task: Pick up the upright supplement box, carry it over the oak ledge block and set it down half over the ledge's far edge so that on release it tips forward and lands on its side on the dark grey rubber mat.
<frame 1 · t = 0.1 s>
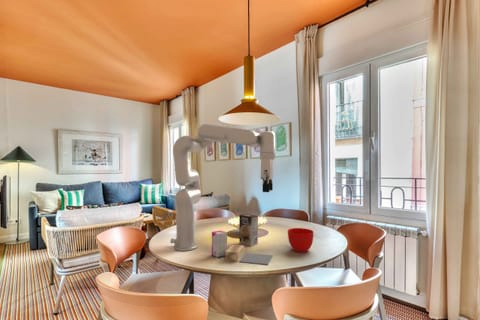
hand: (267, 191, 127), 31 cm above the table, fingers open, 9 cm apart
mat: (256, 258, 121), on the table
ledge: (235, 256, 124), on the table
coffee box: (248, 243, 146), on the table
ceramic cup: (299, 249, 135), on the table
supplement box: (219, 255, 126), on the table
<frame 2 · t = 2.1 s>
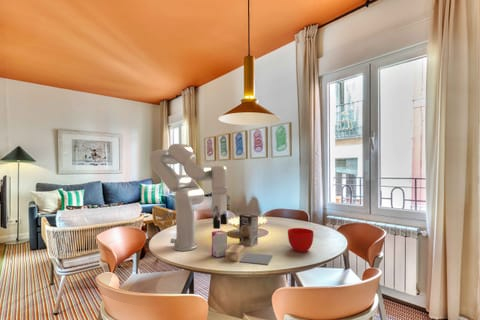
hand: (220, 226, 126), 14 cm above the table, fingers open, 9 cm apart
nothing on the table moved.
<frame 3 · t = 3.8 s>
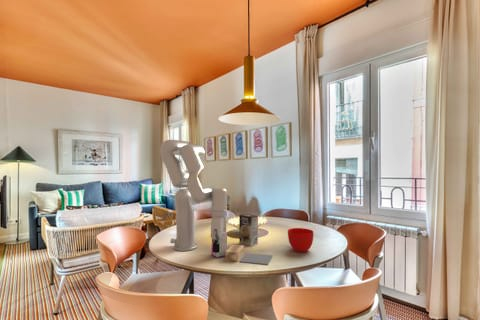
hand: (219, 249, 126), 3 cm above the table, fingers closed on supplement box, 8 cm apart
supplement box: (219, 255, 126), on the table, touching gripper
everything else where it was.
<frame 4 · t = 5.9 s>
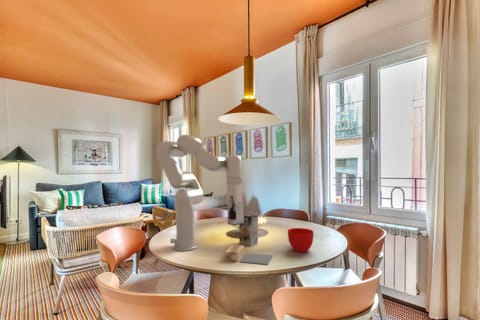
hand: (235, 217, 124), 19 cm above the table, fingers closed on supplement box, 8 cm apart
supplement box: (235, 224, 124), point 16 cm above the table, touching gripper
everything else where it was.
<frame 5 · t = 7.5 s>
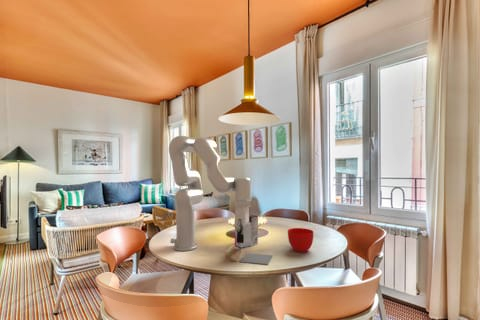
hand: (242, 240, 123), 8 cm above the table, fingers closed on supplement box, 8 cm apart
supplement box: (242, 246, 123), point 5 cm above the table, touching gripper
everything else where it was.
when the fingers open (8 cm above the table, at t = 8.2 s): supplement box drops 2 cm, resting on mat.
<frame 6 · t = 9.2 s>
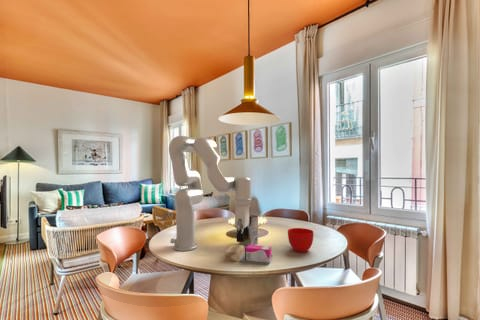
hand: (242, 239, 123), 9 cm above the table, fingers open, 9 cm apart
supplement box: (246, 252, 120), point 3 cm above the table, touching mat
everything else where it was.
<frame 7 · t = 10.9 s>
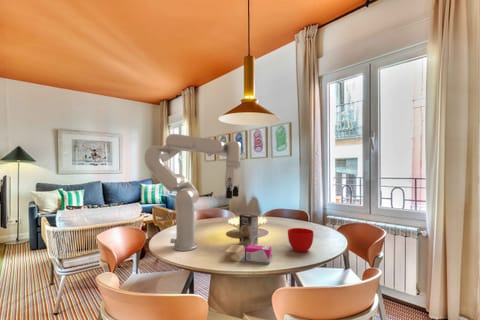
hand: (232, 197, 136), 27 cm above the table, fingers open, 9 cm apart
nothing on the table moved.
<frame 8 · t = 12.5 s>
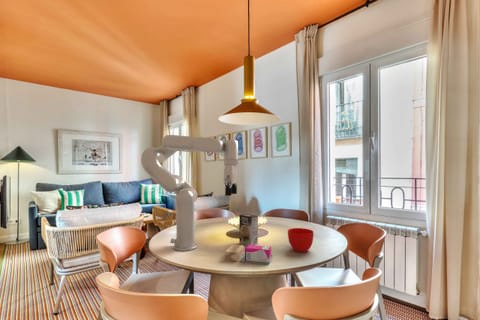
hand: (231, 194, 139), 28 cm above the table, fingers open, 9 cm apart
nothing on the table moved.
at the end: supplement box tilted 91°; supplement box inside the target area (6.3 cm from its centre), point 3.3 cm above the table; the gripper is holding nothing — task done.
